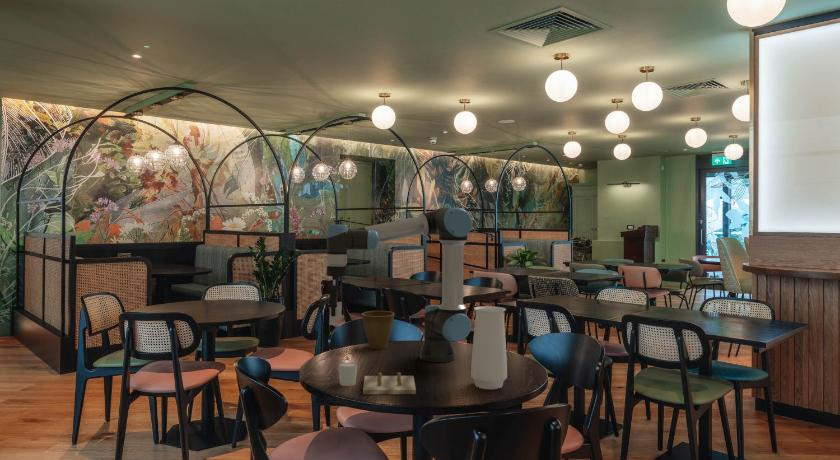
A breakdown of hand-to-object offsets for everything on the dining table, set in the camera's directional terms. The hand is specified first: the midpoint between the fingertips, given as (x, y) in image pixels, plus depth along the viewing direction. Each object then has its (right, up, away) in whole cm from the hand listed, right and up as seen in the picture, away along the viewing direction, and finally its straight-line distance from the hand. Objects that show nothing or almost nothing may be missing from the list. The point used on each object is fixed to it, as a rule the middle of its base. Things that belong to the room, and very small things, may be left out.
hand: (335, 321), depth 224 cm
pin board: (+21, -21, -12) cm, 32 cm away
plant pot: (+12, -20, +52) cm, 57 cm away
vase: (+57, -22, -9) cm, 61 cm away
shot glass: (+6, -21, -9) cm, 24 cm away
